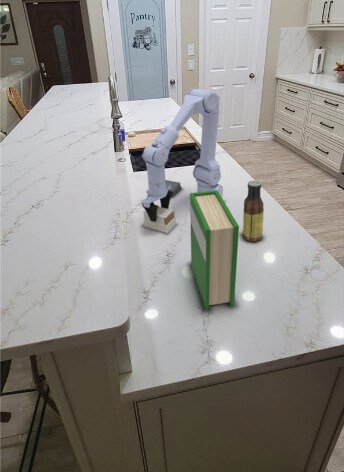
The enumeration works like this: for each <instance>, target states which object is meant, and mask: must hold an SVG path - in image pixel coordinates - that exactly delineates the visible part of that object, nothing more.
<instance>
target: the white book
mask: <svg viewBox="0 0 344 472" xmlns="http://www.w3.org/2000/svg"><path fill="white" fill-rule="evenodd" d="M173 218H175V210H173V209H171V208H170V209H169V208H168V209H166V208H162V207H161V206H159V207H158V210H157V220H156V223H160V224H163V225H167V224H168V223H169V222H170V221H171V220H172V219H173ZM144 219H146V220H149V221H150V218H149V216H148V214H147V212H146V210H145V209H144V211H143V220H144Z"/></svg>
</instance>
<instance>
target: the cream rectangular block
mask: <svg viewBox="0 0 344 472" xmlns="http://www.w3.org/2000/svg"><path fill="white" fill-rule="evenodd" d="M143 221H144V222H143V227H145V228H149V229H151V230H154V231H159V232H161V233H165V234H168V233H169V232H170V231H171V230H172V229H173V228H175V226H176V224H177V223H176V218H175V217H174V218H173V219H172V220H171V221H170V222H169V223H168V224H167V225H163V224H160V223H156V222H153V221H149V220H146V219H144V218H143Z"/></svg>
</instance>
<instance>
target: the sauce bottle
mask: <svg viewBox="0 0 344 472" xmlns="http://www.w3.org/2000/svg"><path fill="white" fill-rule="evenodd" d="M261 189H262V182H260V181H258V180H249V181H248V182H247V196H246V197H245V198H244V200H243V215H242V217H243V218H242V219H243V220H242V221H243V223H242V225H243V226H242V234H243V238H244V239H245V240H247V241H249V242H259V241H260V240H261V239H262V237H263V230H264V212H265V211H264V205H265V204H264V201H263V199H262V197H261Z"/></svg>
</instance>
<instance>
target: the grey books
mask: <svg viewBox="0 0 344 472" xmlns="http://www.w3.org/2000/svg"><path fill="white" fill-rule="evenodd" d="M165 184H171V190H169V191H171V192H173V195H172V197H171V198H174V197H175V196H176V195H177V194H178V193H179V192H181V191H182V189H183V186H181V185H182V184H181V182H180V181H174V180H168V179H165Z"/></svg>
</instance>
